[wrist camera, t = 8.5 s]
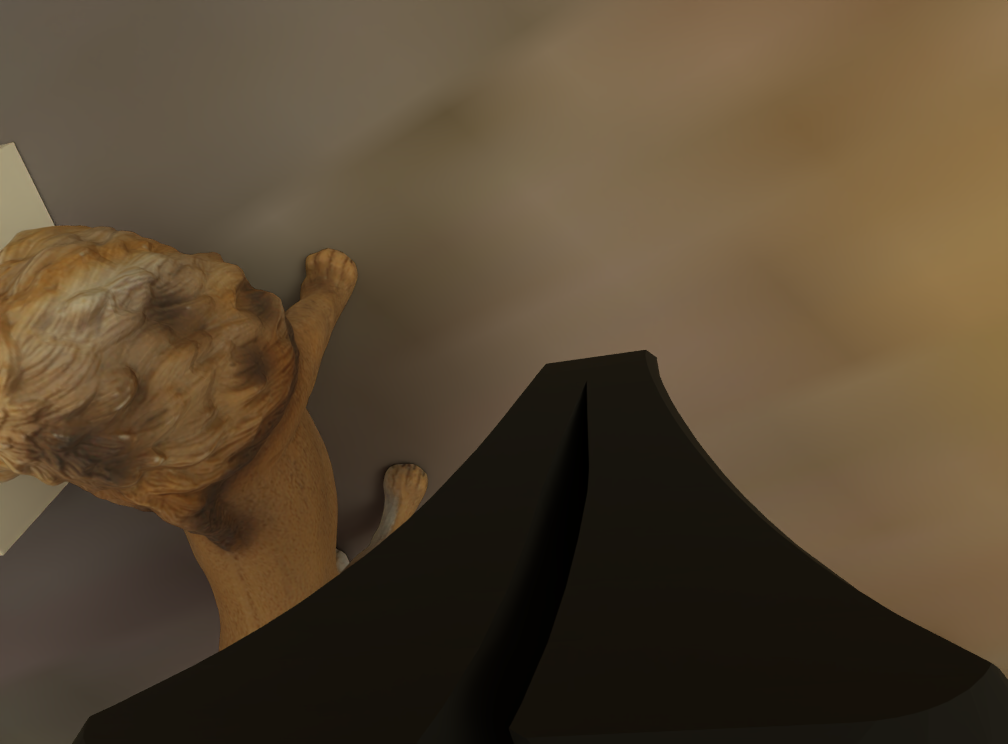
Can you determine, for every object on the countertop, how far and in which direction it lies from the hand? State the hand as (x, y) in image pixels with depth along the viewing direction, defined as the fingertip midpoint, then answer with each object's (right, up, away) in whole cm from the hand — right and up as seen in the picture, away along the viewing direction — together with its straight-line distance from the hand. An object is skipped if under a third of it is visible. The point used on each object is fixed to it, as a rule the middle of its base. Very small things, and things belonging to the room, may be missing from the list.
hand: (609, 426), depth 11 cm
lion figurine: (-6, 0, +12) cm, 14 cm away
